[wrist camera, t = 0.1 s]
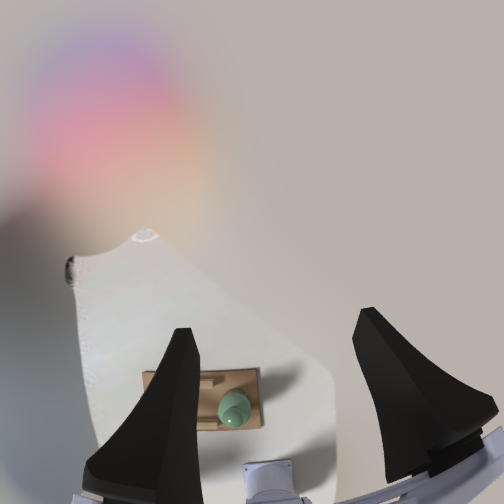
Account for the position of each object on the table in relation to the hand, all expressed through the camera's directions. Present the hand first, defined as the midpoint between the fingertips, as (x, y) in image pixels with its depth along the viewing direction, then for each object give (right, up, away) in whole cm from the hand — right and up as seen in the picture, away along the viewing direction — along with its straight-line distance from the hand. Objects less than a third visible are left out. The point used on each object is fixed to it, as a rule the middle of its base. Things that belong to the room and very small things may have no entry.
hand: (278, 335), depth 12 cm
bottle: (-4, -19, +27) cm, 34 cm away
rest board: (-9, -20, +28) cm, 35 cm away
